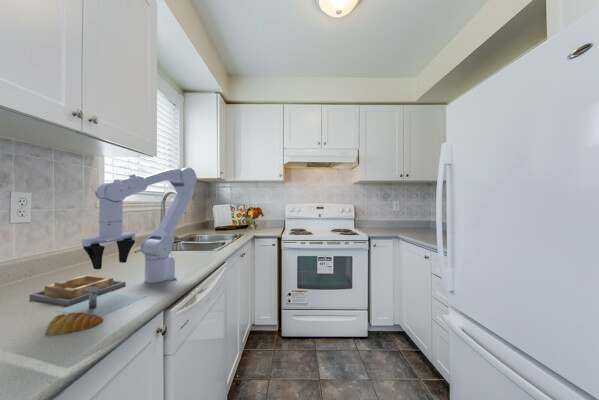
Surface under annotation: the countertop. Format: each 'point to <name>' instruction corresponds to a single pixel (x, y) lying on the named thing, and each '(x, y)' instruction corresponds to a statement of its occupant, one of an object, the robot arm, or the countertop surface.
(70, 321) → the pastry
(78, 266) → the countertop surface
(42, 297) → the tray
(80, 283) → the wooden frame
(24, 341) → the countertop surface
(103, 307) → the stake base
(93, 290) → the stake post
